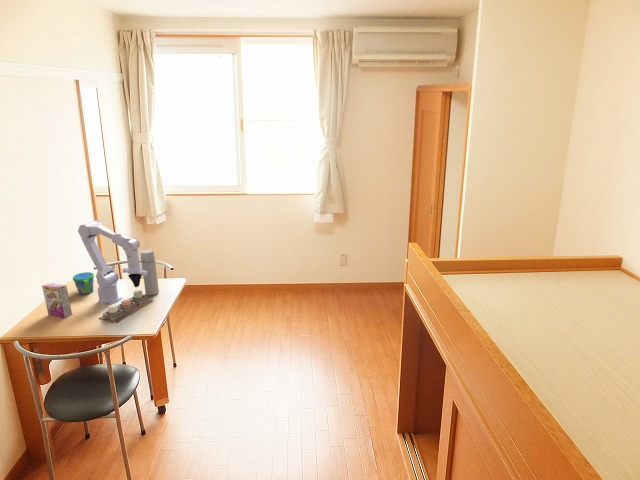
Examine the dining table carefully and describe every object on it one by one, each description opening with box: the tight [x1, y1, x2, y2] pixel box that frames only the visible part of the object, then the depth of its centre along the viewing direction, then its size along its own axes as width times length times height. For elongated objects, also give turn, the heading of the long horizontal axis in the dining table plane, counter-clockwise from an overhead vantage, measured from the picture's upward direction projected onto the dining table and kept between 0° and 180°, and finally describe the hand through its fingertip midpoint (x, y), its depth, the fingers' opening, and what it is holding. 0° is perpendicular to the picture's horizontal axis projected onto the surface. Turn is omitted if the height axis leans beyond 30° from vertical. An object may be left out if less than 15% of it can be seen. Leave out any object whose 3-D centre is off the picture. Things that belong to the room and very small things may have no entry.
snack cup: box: [72, 271, 95, 295], centre depth 253 cm, size 16×10×10 cm
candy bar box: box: [42, 282, 73, 319], centre depth 226 cm, size 11×5×16 cm, turn 71°
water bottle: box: [139, 249, 160, 296], centre depth 249 cm, size 9×8×25 cm
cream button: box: [107, 303, 118, 315], centre depth 224 cm, size 4×4×4 cm
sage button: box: [133, 290, 144, 300], centre depth 240 cm, size 4×4×4 cm
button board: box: [98, 294, 154, 324], centre depth 233 cm, size 12×26×3 cm, turn 160°
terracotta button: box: [120, 298, 131, 307], centre depth 233 cm, size 4×4×4 cm
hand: (137, 286), depth 236 cm, fingers closed
